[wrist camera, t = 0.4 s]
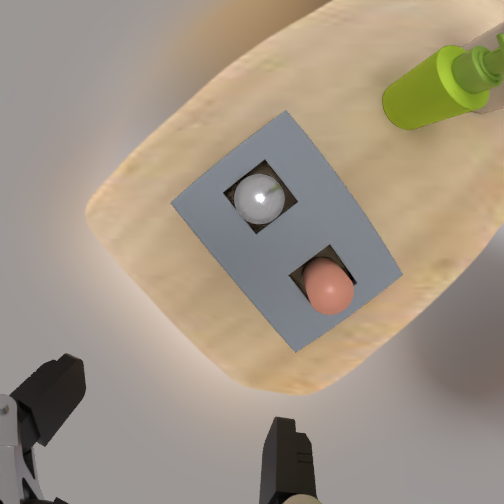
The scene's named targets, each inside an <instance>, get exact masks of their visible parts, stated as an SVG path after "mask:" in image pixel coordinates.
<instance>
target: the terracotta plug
mask: <svg viewBox="0 0 504 504" xmlns="http://www.w3.org/2000/svg"><path fill="white" fill-rule="evenodd" d="M303 283H304V286H305V289H306V292H307V295H308V298H309V300H310V303H311V305H312V307H313V308H314V309H315V310H316V311H318V312H319V313H322V314H325V315H334V314H337V313H340V312H342V311H343V310H345V309H346V308H347V307H348V306H349V304H350V303H351V301H352V299H353V296H354V287H353V283H352V281H351V280H350V278H349V277H348V276H347V275H346V274H345V272H344V271H343V270H342V269H341V268H340V266H339V265H338V264H337V263H336V262H335V261H334V260H332V259H330V258H327V257H319V258H316V259H314V260H312V261H310V262H309V263H308V264H307V266H306V267H305V269H304V271H303Z"/></svg>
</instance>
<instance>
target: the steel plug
mask: <svg viewBox="0 0 504 504" xmlns="http://www.w3.org/2000/svg"><path fill="white" fill-rule="evenodd" d="M284 202H285V196H284V192H283V189H282V187H281V185H280V184H279V183H278V182H277V181H276V180H275V179H274V178H272V177H270V176H268V175H264V174H254V175H251V176H248V177H246V178H245V179H243V180H242V181H241V182H240V184H239V185H238V186H237V188H236V191H235V195H234V204H235V207H236V210H237V212H238V213H239V215H240V216H241V217H242V218H243V219H245V220H246V221H248V222H250V223H254V224H265V223H269V222H271V221H273V220H274V219H275V218H277V217H278V216H279V214H280V213H281V211H282V209H283V207H284Z"/></svg>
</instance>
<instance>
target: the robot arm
mask: <svg viewBox="0 0 504 504" xmlns="http://www.w3.org/2000/svg"><path fill="white" fill-rule="evenodd" d="M499 33H501V34H503V35H504V22H503V23H501V24H499V25H497V26H496V27H494V28H492V29H491V30H489V31H487V32H486V33H484V34H482V35H481V36H479V37H477V38H476V39H474V40H472V41H471V42H469V43H467V44H466V45H464V46H462V47H461V48H463V49H465V50H466V51H468V50H470V49H472V48H473V47H475V46H483V47H485V48H487V49H489V50H490V51H493V50H495V49H497V48H499V47H500V46H499V43H498V40H497V37H496V35H497V34H499ZM502 108H504V72H503V82H502V84H501V85H499V86H498V87H495V88H492V89H489V98H488V101H487V103H486V104H485V106H484V107H482V108H481V109H478V110H474V111H473V112H476V113H486V112H490V111H494V110H498V109H502ZM85 391H86V384H85V375H84V365H83V361H82V360H81V359H79V358H77V357H74V356H72V355H70V354H67V353H66V354H64V355H63V356H62V357H61V358H59V359H58V361H56V360H51V361H49V362H46V363H44V364H43V365H42V366H40V367H39V368H38V369H37V370H36V372H34V373H33V374H32V375H31V377H28V378H27V379H26V380H25V381H24V382H23V383H22V384H21V385H20V386H19V387H18V388H17V389H16V390H14V391H13V392H12V393H11V394H10V395H9V396H8V395H5V394H0V504H68V503H66V502H65V501H63V500H61V499H59V498H57V497H56V499H55V500H54V502H51V501H46V500H44V497H43V494H42V491H41V489H40V486H39V481H38V475H37V470H36V462H35V454H34V448H33V445H34V444H35V443H36V442H38V443H39V444H41V445H43V446H44V447H45V446H46V445H47V444H48V442H49V441H50V440H51V439H52V437H53V436H54V435H55V433H56V432H57V431H58V429H59V428H60V427H61V426H62V424H63V423H64V422H65V420H66V419H67V418H68V417H69V415H70V414H71V413H72V412H73V410H74V409H75V408H76V407H77V405H78V404H79V403H80V401H81V400H82V399H83V397H84V395H85ZM259 504H322V503H321V502H320V501H319V500H318V498H317V495H316V486H315V475H314V466H313V456H312V445H311V442H310V441H309V439H308V437H307V436H306V434H305V433H298V432H296V427H295V420H294V419H289V418H282V417H275V418H274V420H273V423H272V425H271V428H270V430H269V433H268V435H267V438H266V440H265V443H264V447H263V454H262V471H261V484H260V499H259Z"/></svg>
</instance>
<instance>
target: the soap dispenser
mask: <svg viewBox="0 0 504 504" xmlns="http://www.w3.org/2000/svg"><path fill="white" fill-rule="evenodd" d="M496 37H497V40H498V43H499V46H500V47H499V48H497V49H495V50H493V51H490V50H489V49H487V48H485V47H483V46H475V47H473V48H472V49H470V50H468V51H466V50H465V49H463V48H461V47H458V46H454V45H449V46H445V47H443V48H442V49H440V50H439V51H437V52H436V53H434V54H433V55H432V56H430V57H429V58H427V59H426V60H425V61H423V62H422V63H420V64H419V65H418V66H416V67H415V68H414V69H412V70H411V71H409V72H408V73H407V74H405V75H404V76H403V77H401V78H400V79H399V80H397V81H396V82H395V83H393V84H392V85H391V86H389V87H388V88H387V89H386V90H385V92H384V95H383V108H384V111H385V113H386V115H387V117H388V118H389V119H390V121H391V122H392V123H394V124H395V125H396V126H398V127H400V128H402V129H406V130H412V129H416V128H419V127H422V126H425V125H428V124H431V123H435V122H438V121H441V120H444V119H447V118H451V117H454V116H457V115H461V114H464V113H467V112H471V111H474V110H478V109H481V108H482V107H484V106H485V104H486V103H487V101H488V98H489V89H492V88H495V87H498V86H499V85H501V84H502V82H503V72H504V35H503V34H501V33H499V34H497V35H496Z"/></svg>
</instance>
